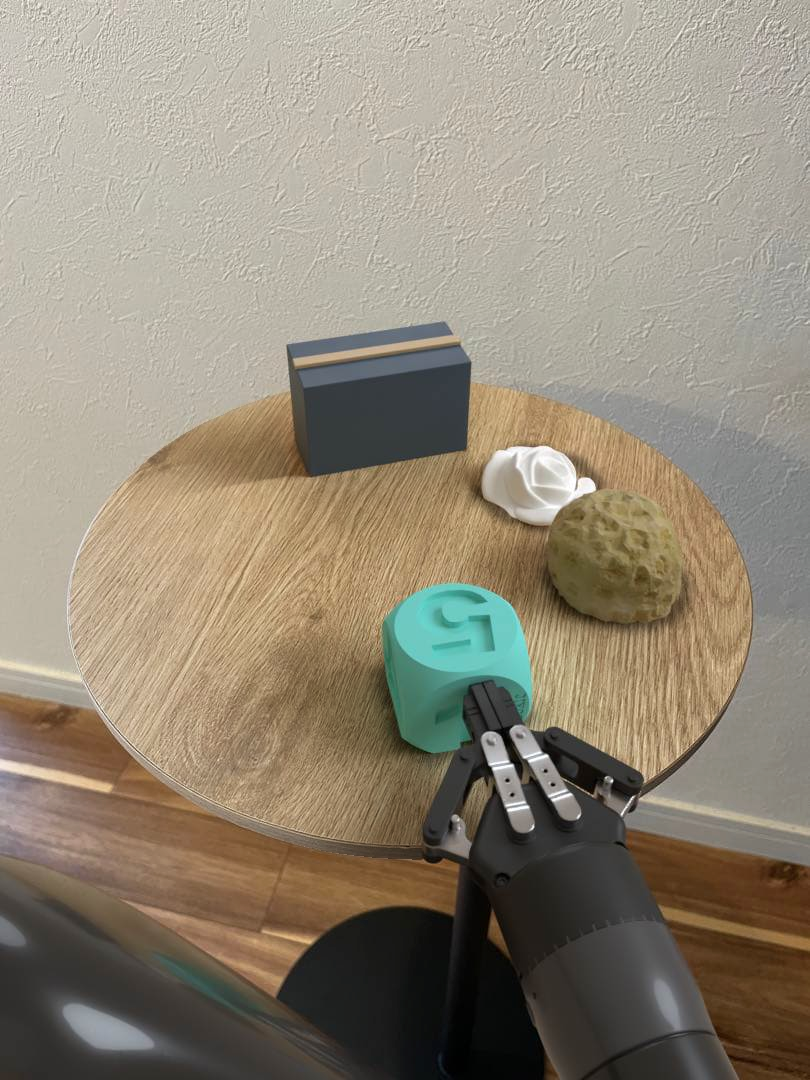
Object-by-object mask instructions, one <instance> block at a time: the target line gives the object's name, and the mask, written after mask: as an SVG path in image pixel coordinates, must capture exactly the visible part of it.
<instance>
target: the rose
mask: <svg viewBox="0 0 810 1080" xmlns="http://www.w3.org/2000/svg"><path fill="white" fill-rule="evenodd" d="M576 485H577V487H576ZM596 488H597V487H596V483H595V482H594V480H592V478H589V477H580V478H577V472H576V468H575V465H574V464H573V462H572V461H571V460H570V458H568V457H567V455H566V454H564V453H563V452H561V451H558V450H554V448H552V447H550V446H548V445H538V446H534V447H531V446H523V445H522V446H519V445H518V446H511V447H508V448H506V449H505V450H503V449H498V450H496V451H495V452H494V453H493V454H492V456H491V458H490V460H489V461H488V462H487V463H486V465H485V467H484V469H483V472H482V476H481V493H482V496H483V499H484V500H486V501H488V502H491V503H493V504H495V505H497V506H499V507H500V508H502V509H503V510H504V511H506V512H507V513H508V514H509V516H511V518H513V519H516V520H518V521H520V522H523V523H525V524H528V525H532V526H537V527H538V526H540V527H541V526H544V527H545V526H551V524H552V522H553V520H554V518H555V516H556V514H557V513H558V511H559V510H560V509H561V508H562V507H564V506H566V505H568V504H569V503H570V502H571V501H572V500H574V499H575V498H579V497H581V496H582V495H583V494H587V493H591V492H593V491H596V490H597V489H596Z"/></svg>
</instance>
